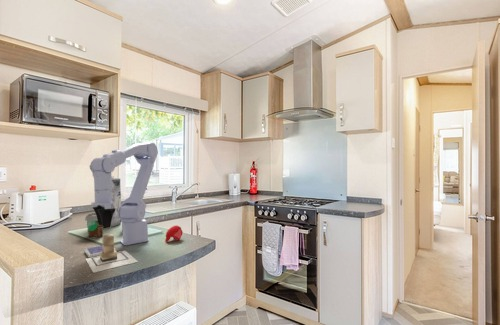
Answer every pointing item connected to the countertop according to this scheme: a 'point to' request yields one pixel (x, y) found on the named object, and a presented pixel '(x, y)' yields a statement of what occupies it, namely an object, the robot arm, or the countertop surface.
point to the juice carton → (116, 200)
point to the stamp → (108, 248)
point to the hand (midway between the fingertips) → (104, 226)
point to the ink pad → (94, 251)
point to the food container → (93, 226)
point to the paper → (110, 262)
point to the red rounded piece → (174, 233)
